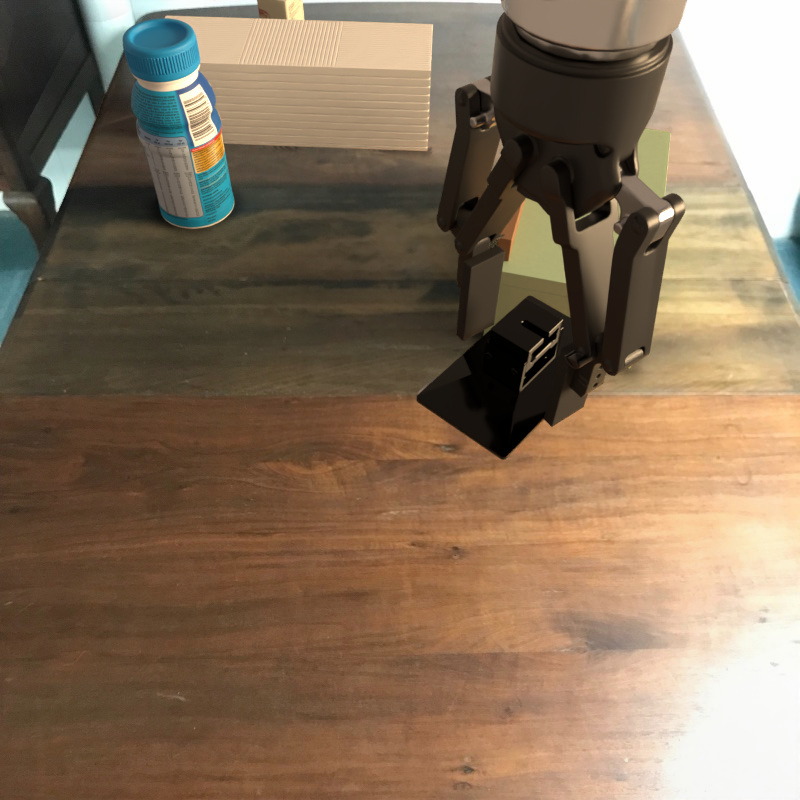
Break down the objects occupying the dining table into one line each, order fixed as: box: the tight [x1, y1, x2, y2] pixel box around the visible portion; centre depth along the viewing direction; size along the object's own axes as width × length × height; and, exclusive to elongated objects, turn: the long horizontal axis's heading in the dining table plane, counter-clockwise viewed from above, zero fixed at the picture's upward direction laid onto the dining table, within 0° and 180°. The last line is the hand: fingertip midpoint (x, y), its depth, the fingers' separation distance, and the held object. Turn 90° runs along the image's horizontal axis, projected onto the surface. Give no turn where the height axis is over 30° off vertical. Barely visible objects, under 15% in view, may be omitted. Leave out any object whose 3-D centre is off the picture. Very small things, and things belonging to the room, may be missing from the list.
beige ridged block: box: [164, 15, 434, 152], centre depth 95 cm, size 32×11×11 cm, turn 87°
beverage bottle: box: [122, 17, 235, 230], centre depth 81 cm, size 8×8×20 cm
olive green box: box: [482, 127, 672, 370], centre depth 79 cm, size 14×26×12 cm, turn 165°
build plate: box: [415, 296, 573, 461], centre depth 50 cm, size 12×7×5 cm, turn 139°
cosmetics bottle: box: [256, 0, 305, 20], centre depth 105 cm, size 5×4×10 cm
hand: (517, 369), depth 51 cm, fingers closed on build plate, 8 cm apart
